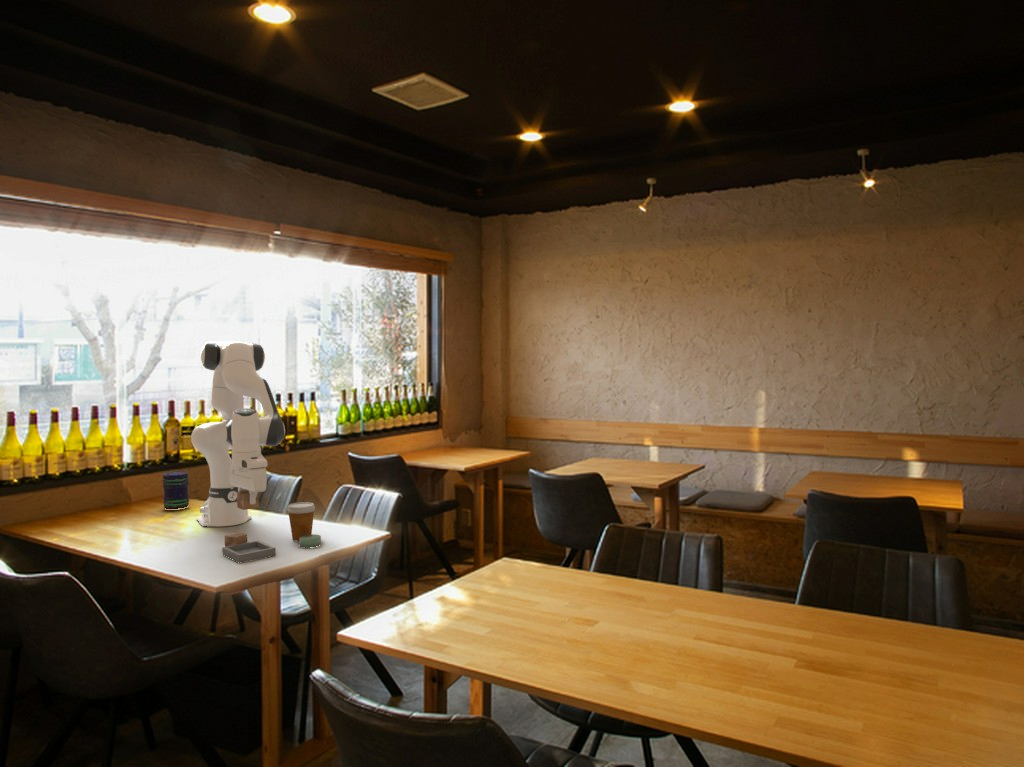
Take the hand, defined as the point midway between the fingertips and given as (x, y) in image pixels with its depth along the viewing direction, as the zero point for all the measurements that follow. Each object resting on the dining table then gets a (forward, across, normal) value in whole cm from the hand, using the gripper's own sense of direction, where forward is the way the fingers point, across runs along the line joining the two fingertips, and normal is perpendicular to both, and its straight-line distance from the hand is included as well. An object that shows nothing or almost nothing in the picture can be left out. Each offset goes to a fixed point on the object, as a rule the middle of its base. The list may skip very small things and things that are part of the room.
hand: (247, 502), depth 238 cm
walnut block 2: (+2, 0, 0) cm, 2 cm away
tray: (+17, 0, 0) cm, 17 cm away
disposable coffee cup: (+17, -7, +22) cm, 29 cm away
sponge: (+17, +3, +20) cm, 27 cm away
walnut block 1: (+17, -10, 0) cm, 20 cm away
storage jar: (+17, -91, +8) cm, 93 cm away
